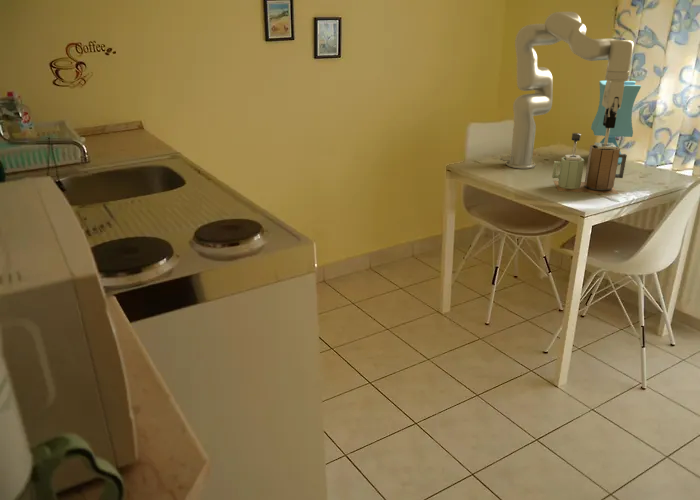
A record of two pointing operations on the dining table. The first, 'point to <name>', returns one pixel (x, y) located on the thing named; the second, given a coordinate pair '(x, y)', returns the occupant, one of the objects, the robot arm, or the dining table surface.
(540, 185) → the dining table surface
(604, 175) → the brown coffee press
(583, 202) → the dining table surface
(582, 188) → the walnut board
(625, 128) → the planter
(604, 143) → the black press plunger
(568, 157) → the green press
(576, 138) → the green press plunger
